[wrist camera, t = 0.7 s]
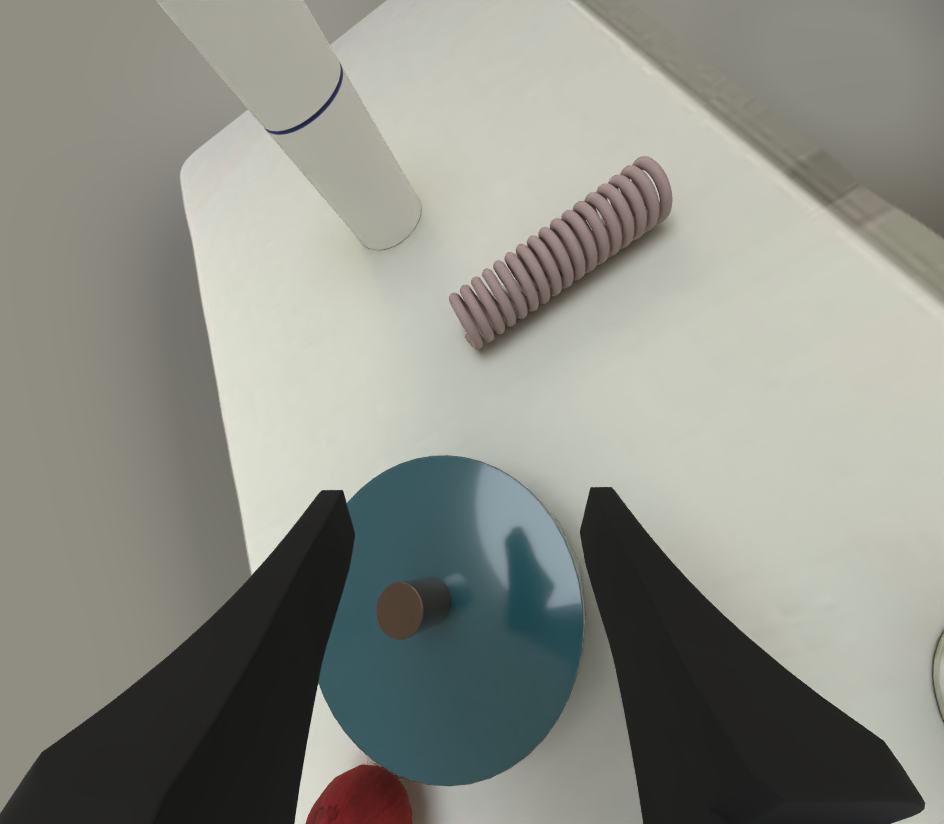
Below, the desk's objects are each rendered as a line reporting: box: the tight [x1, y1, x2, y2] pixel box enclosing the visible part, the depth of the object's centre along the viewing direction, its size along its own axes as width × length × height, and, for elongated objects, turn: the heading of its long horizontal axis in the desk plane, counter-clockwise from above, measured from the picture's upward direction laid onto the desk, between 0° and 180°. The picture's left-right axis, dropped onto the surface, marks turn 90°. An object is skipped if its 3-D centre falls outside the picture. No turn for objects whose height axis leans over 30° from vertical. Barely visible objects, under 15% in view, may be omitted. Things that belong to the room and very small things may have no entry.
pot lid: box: [318, 455, 585, 786], centre depth 20 cm, size 16×16×4 cm
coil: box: [449, 156, 672, 349], centre depth 30 cm, size 5×5×18 cm
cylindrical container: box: [156, 0, 421, 250], centre depth 30 cm, size 7×7×25 cm
